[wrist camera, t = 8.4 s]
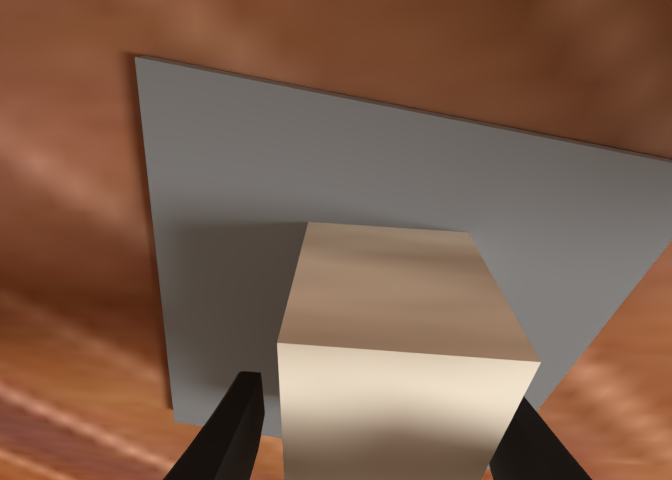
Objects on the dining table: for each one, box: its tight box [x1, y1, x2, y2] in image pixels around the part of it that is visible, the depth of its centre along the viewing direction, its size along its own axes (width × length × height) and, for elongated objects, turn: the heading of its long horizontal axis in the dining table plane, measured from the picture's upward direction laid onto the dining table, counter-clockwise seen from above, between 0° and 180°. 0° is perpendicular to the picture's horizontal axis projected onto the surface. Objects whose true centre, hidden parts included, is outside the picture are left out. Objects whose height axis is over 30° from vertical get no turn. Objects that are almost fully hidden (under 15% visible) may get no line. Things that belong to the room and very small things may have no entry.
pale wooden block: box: [277, 222, 541, 480], centre depth 11 cm, size 9×5×5 cm, turn 177°
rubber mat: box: [135, 56, 672, 469], centre depth 13 cm, size 16×16×1 cm
